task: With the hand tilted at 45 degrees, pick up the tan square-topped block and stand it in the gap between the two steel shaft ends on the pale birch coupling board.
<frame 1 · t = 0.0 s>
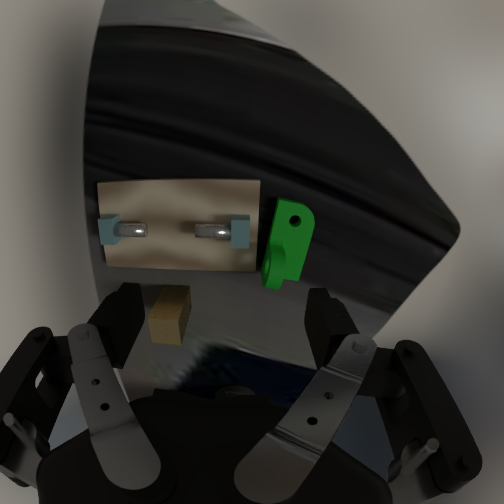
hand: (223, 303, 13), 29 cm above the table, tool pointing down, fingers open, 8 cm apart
tan square-topped block: (178, 296, 46), on the table
mechanical part: (287, 237, 43), on the table
coupling board: (175, 223, 41), on the table
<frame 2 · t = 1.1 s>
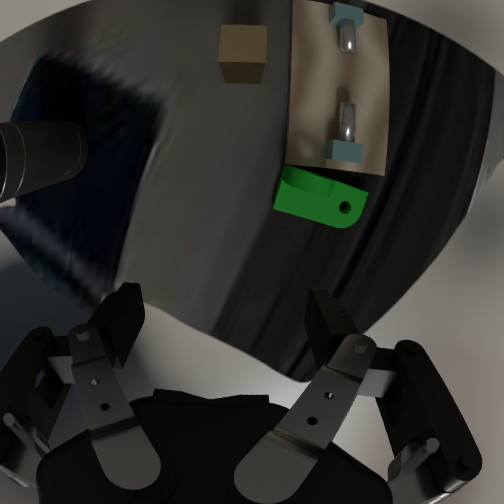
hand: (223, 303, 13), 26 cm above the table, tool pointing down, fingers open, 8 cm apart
tan square-topped block: (243, 68, 30), on the table
mechanical part: (318, 196, 37), on the table
coupling board: (339, 82, 31), on the table
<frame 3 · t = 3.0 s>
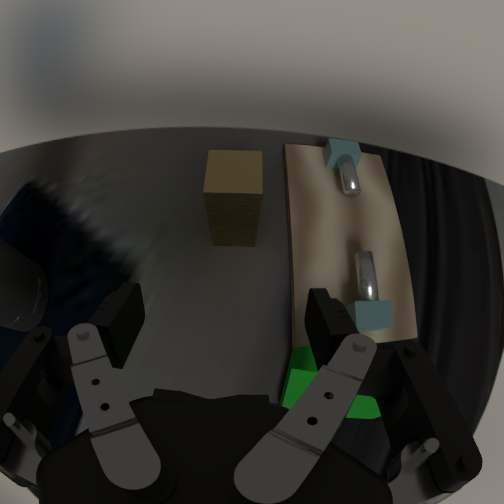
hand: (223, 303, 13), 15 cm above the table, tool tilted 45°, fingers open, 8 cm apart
tan square-topped block: (234, 227, 31), on the table
mechanical part: (340, 386, 25), on the table
coupling board: (347, 235, 31), on the table
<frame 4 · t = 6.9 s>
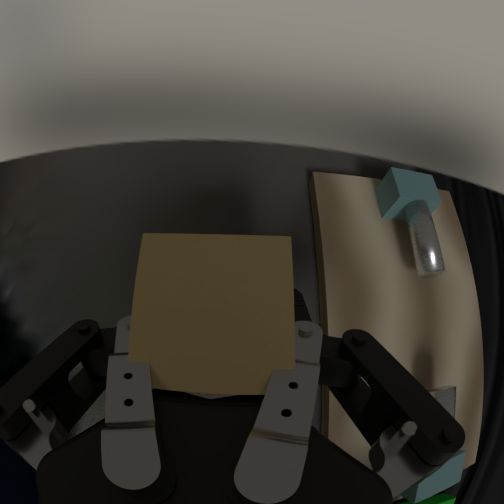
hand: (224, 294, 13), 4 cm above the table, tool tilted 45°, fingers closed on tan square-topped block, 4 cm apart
tan square-topped block: (226, 340, 16), on the table, touching gripper
coupling board: (410, 338, 17), on the table
when the fingers open (7 cm above the table, at t = 12.2 s): tan square-topped block stays where it is, resting on coupling board.
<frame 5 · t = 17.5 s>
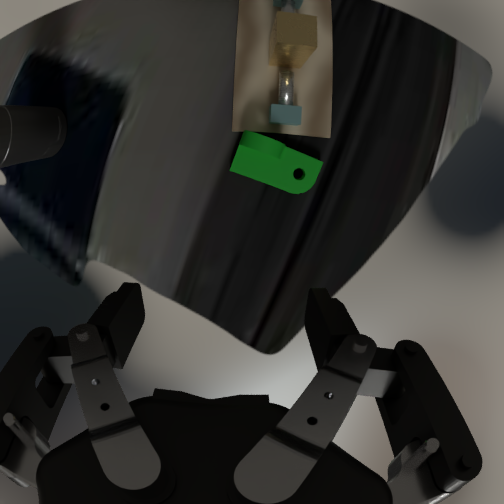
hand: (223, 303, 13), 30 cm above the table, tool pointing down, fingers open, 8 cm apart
tan square-topped block: (284, 53, 31), point 1 cm above the table, touching coupling board
mechanical part: (275, 164, 40), on the table
coupling board: (284, 56, 33), on the table
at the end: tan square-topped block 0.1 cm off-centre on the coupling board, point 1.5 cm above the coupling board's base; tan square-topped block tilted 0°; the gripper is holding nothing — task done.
